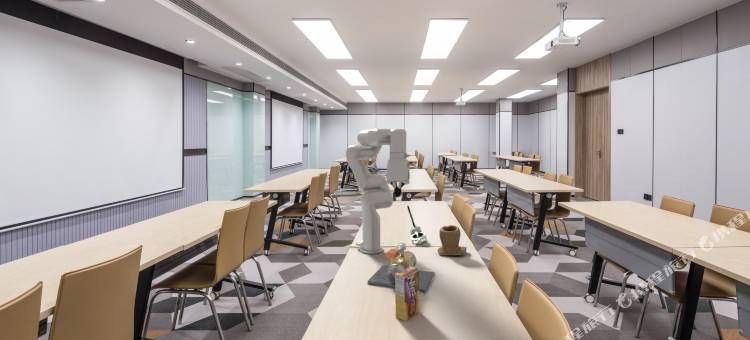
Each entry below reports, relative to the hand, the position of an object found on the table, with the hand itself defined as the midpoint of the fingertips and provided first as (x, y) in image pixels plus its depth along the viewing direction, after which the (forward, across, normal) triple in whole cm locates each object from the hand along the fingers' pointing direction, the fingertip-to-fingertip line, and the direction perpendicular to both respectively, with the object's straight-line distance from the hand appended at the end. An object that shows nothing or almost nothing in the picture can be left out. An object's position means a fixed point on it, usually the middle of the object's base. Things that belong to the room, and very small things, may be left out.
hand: (397, 196), depth 160 cm
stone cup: (+33, -22, -26) cm, 47 cm away
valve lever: (+20, -5, +18) cm, 28 cm away
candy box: (+33, -16, +41) cm, 55 cm away
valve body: (+33, -6, +13) cm, 36 cm away
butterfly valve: (+34, +1, -42) cm, 54 cm away
